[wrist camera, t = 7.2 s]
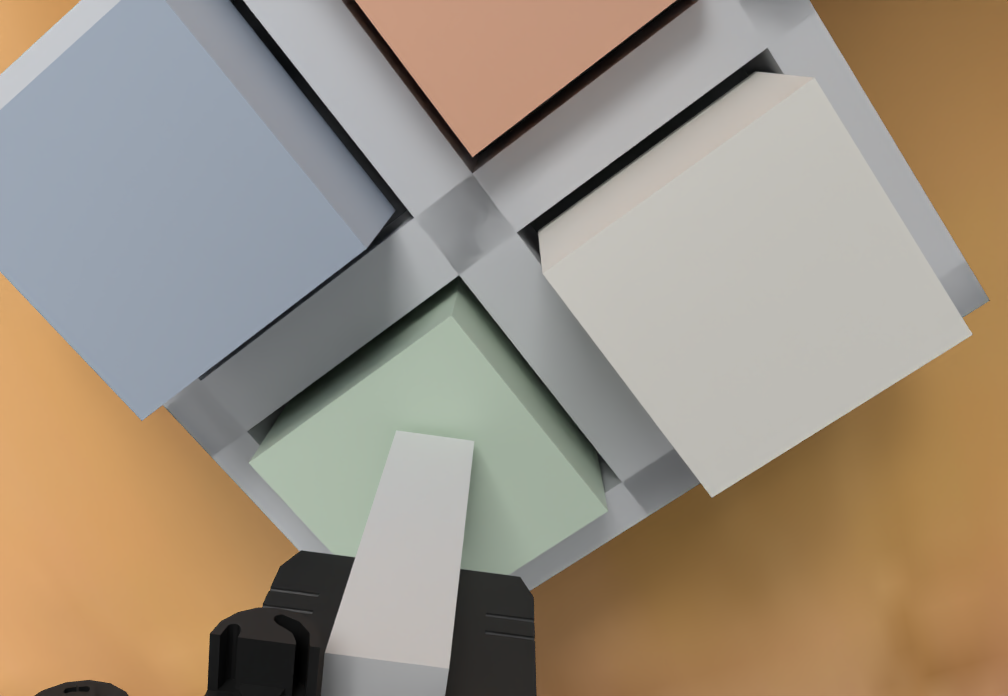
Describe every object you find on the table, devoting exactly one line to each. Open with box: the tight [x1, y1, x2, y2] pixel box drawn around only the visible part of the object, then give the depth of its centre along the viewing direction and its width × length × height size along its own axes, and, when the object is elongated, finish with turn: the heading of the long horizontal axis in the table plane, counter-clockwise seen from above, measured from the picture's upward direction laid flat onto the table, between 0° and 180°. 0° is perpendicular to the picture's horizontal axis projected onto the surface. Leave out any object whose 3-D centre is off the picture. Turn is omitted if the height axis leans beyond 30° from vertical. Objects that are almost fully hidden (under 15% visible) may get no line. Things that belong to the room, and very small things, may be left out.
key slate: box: [0, 0, 395, 420], centre depth 16 cm, size 5×5×4 cm
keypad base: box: [0, 0, 990, 591], centre depth 19 cm, size 16×16×5 cm
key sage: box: [249, 275, 608, 575], centre depth 19 cm, size 5×5×4 cm
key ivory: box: [538, 71, 973, 497], centre depth 16 cm, size 5×5×4 cm
